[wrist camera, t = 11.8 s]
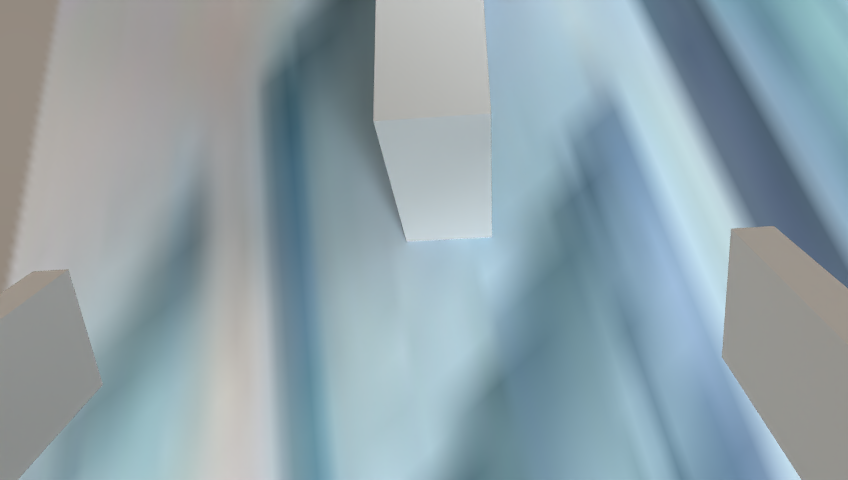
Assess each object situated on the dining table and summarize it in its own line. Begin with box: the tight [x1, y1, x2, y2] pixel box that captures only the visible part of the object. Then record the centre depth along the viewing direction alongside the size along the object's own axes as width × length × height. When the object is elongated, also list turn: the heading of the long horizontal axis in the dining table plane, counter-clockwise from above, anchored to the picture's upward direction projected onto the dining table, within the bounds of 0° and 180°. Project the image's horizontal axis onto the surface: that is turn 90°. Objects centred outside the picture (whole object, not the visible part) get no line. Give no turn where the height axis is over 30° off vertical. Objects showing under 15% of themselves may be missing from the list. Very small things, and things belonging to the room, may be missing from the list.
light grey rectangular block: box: [373, 0, 492, 242], centre depth 32 cm, size 4×18×10 cm, turn 1°
